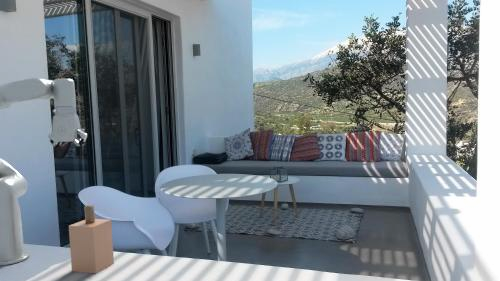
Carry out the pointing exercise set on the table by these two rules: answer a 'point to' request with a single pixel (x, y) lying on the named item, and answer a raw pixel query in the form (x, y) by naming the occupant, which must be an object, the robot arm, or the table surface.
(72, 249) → the cover
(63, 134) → the robot arm
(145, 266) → the table surface
